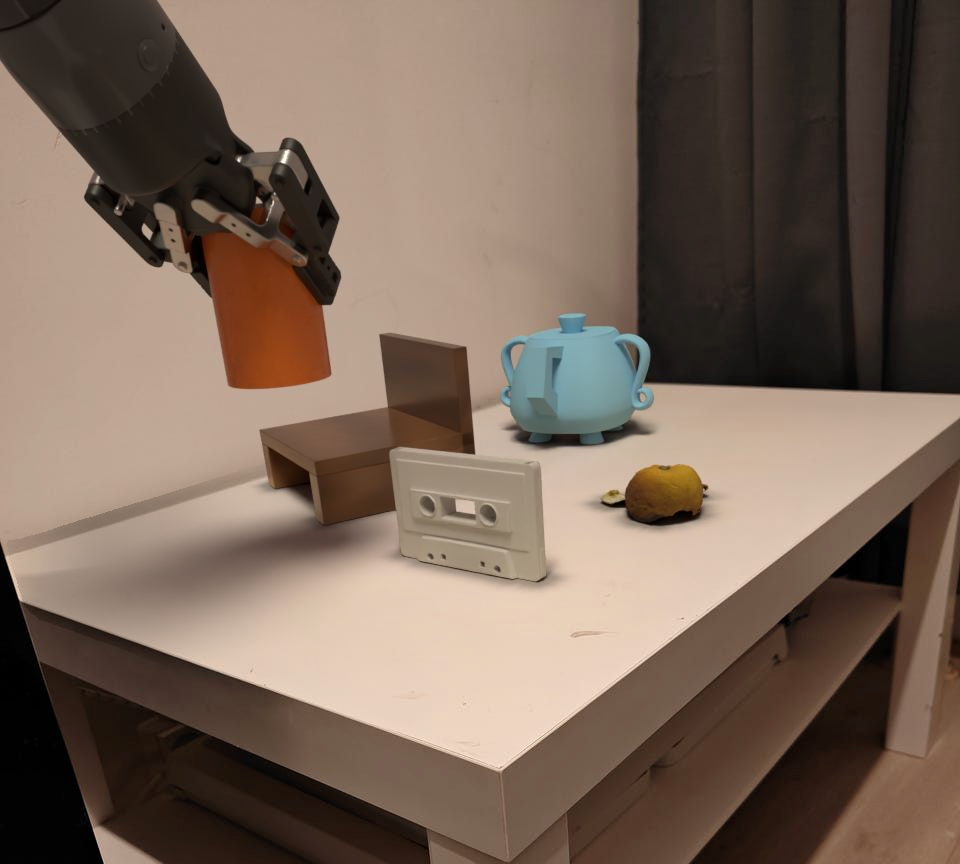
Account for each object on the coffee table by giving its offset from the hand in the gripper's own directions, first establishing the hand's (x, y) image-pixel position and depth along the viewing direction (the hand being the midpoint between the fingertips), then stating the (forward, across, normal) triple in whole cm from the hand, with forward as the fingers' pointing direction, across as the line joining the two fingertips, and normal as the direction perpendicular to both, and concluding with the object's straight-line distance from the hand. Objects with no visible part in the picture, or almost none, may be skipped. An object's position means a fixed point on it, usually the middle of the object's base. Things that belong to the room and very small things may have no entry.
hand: (281, 295), depth 59 cm
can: (+2, 0, +5) cm, 5 cm away
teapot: (+41, -7, -15) cm, 44 cm away
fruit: (+24, -21, +1) cm, 32 cm away
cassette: (+14, -11, +12) cm, 21 cm away
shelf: (+26, +6, 0) cm, 26 cm away
